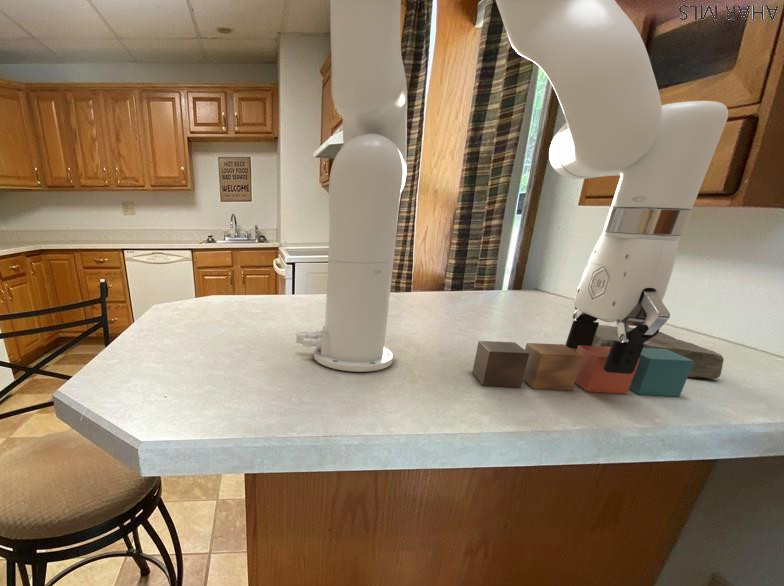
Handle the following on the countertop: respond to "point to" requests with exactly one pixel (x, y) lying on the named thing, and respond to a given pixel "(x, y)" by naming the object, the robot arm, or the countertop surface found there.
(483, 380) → the walnut block
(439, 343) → the countertop surface
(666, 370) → the teal block
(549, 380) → the oak block
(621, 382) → the terracotta block
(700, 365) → the grey stone slab
